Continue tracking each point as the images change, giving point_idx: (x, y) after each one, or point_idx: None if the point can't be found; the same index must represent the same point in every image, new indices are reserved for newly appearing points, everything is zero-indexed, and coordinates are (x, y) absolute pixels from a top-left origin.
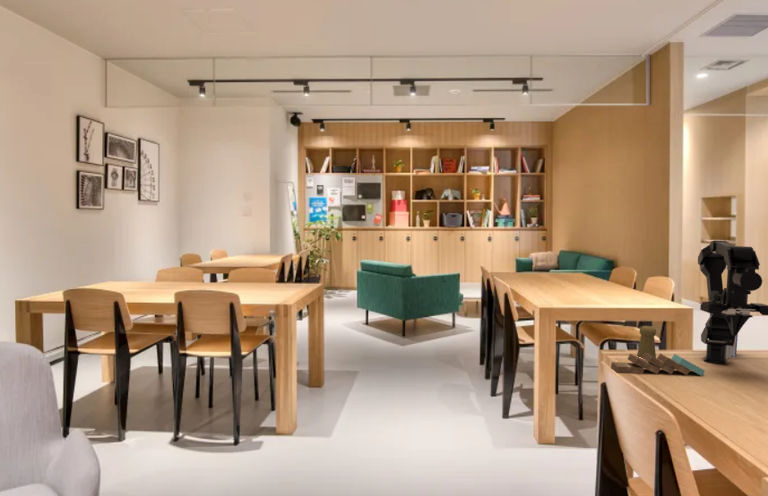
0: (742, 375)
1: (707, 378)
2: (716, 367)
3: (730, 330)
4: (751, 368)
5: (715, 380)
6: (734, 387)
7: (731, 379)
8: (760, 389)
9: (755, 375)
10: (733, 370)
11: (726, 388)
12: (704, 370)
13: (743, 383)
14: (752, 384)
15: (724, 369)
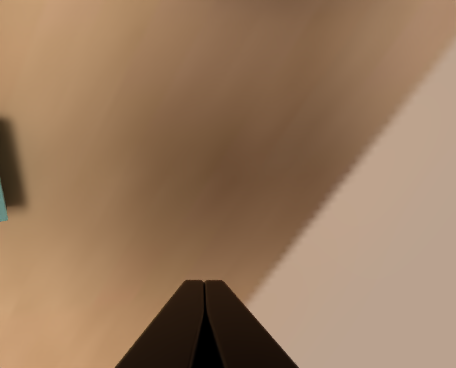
0: (253, 168)
1: (23, 242)
2: (189, 9)
3: (159, 316)
4: (416, 12)
5: (52, 268)
6: (97, 349)
7: (148, 243)
8: None
9: (329, 160)
10: (264, 72)
11: (52, 365)
12: (3, 220)
13: None
14: None
15: (218, 54)
